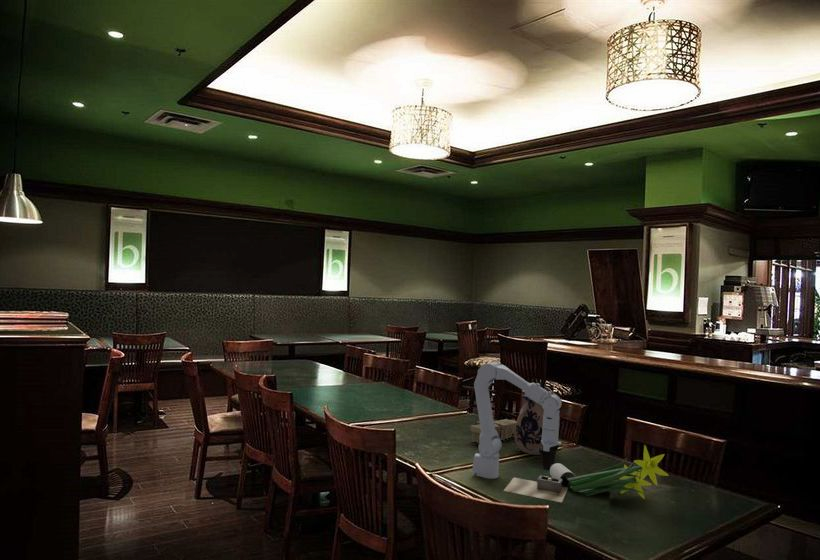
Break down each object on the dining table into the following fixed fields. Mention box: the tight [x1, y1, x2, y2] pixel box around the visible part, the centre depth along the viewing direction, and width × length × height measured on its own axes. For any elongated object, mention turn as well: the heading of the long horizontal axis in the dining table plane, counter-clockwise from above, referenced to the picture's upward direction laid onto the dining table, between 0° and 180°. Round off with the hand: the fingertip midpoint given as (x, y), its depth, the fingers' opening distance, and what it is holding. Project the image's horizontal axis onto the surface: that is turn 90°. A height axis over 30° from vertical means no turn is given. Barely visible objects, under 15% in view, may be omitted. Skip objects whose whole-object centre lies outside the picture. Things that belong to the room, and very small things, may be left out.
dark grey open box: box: [536, 474, 563, 493], centre depth 199 cm, size 8×5×4 cm, turn 66°
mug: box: [549, 462, 577, 486], centre depth 209 cm, size 10×7×12 cm
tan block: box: [470, 418, 517, 444], centre depth 267 cm, size 8×8×29 cm
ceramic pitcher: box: [513, 394, 544, 456], centre depth 251 cm, size 18×21×25 cm
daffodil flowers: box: [567, 444, 669, 500], centre depth 199 cm, size 17×15×35 cm
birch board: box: [503, 477, 569, 503], centre depth 198 cm, size 20×16×2 cm
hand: (548, 466), depth 200 cm, fingers open, 7 cm apart
